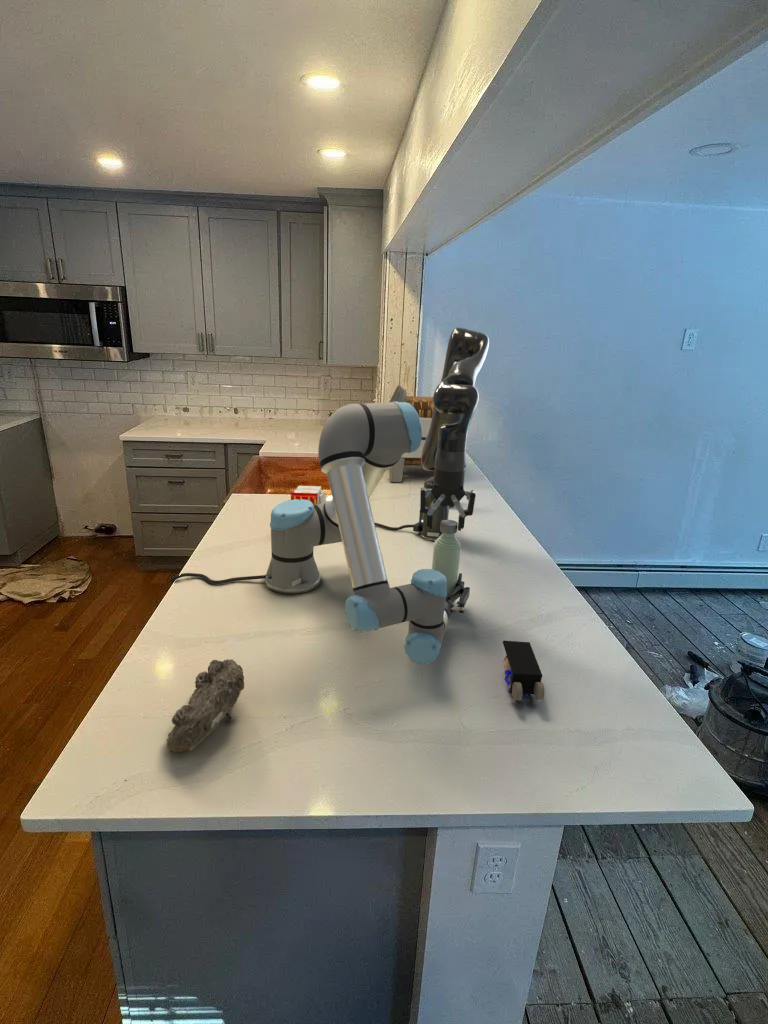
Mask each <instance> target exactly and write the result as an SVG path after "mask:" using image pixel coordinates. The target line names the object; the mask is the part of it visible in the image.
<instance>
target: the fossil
mask: <svg viewBox="0 0 768 1024" xmlns="http://www.w3.org/2000/svg"><path fill="white" fill-rule="evenodd" d="M243 670H244V669H243V667H242V665H240V664H237V662H236V661H235V660H234V659H232V658H231V659H227V658H226V659H224V660H223V661H222V660H217V659H212V660H211V661H210V663H209V665H208V666H207V671H201V672H199V673H198V674H197V675H196V676H195V680H194V684H195V685H194V687H195V689H194V690H193V693H192V694H191V697H190V698H189V700H188V704H184V705H182V706H181V707H180V709H177V710H176V711H175V713H174V715H173V716H172V718H171V723H172V724H173V727H172V730H171V731H170V732H168V734H167V738H166V741H167V742H166V745H167V749H168V750H169V751H173V752H174V753H176V754H178V753H182V752H188V751H189V752H192V751H193V750H195V748H196V747H197V746H199V744H200V743H201V742H203V741H204V740H205V739H206V738H207V737H208V736H209V735H210V734H211V733H212V732H214V730H215V729H217V727H218V726H219V724H220V722H221V721H222V720H223V719H224V718H225V716H226V717H227V719H229V720H233V717H232V715H230V714H229V710H230V709H231V708H234V706H235V704H236V703H237V702H238V699H239V697H240V695H241V693H242V691H243V690H245V689H244V688H245V675H244V671H243Z"/></svg>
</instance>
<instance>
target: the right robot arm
mask: <svg viewBox="0 0 768 1024" xmlns="http://www.w3.org/2000/svg"><path fill="white" fill-rule="evenodd" d="M489 346H490V339H489V336H488V335H487V334H486V333H483V332H481V331H477V330H472V329H468V328H465V327H464V328H463V327H455V328H454V329H452V331H451V333H450V335H449V338H448V342H447V348H446V352H445V359H444V364H443V370H442V375H441V380H440V383H438V385H437V386H436V388H435V390H434V392H433V396H432V397H433V404H434V410H433V415H432V420H431V424H430V428H429V431H428V434H427V437H426V440H425V443H424V446H423V449H422V454H421V465H422V466H421V467H422V469H423V470H424V471H428V472H429V471H430V472H433V476H431V477H429V478H427V479H425V480H424V482H423V487H421V488H420V496H419V497H420V500H419V501H420V502H419V503H420V504H419V505H420V506H419V507H420V508H419V516H418V522H415V523H414V524H403V525H400V526H398V527H397V526H396V527H395V526H393V527H392V526H388V525H385V524H382V523H378V522H375V521H374V524H375V527H379V528H383V529H386V530H389V531H400V530H404V529H407V528H408V529H409V528H412V531H413V532H415V533H417V535H418V536H420V538H421V539H424V540H426V541H432V542H435V541H436V540H437V538H439V536H441V534H442V532H441V531H440V527H441V521H442V520H449V517H450V516H449V514H450V507H451V508H453V507H454V506H455V508H456V510H457V513H458V521H457V523H458V526H457V532H461V531H462V530H464V528H465V521H466V517H468V516H469V517H470V516H473V514H474V509H475V502H476V496H477V495H476V492H475V490H473V489H472V490H465V488H464V486H465V476H466V468H467V444H468V435H469V429H470V425H471V422H472V419H473V417H474V415H475V412H476V409H477V406H478V404H479V400H480V395H479V391H478V388H476V386H475V383H476V379H477V376H478V374H479V372H480V371H481V369H482V367H483V364H484V362H485V361H486V357H487V354H488V351H489ZM464 497H466V500H468V502H467V509H464V507H463V505H462V503H461V500H462V499H463V498H464ZM449 506H450V507H449Z"/></svg>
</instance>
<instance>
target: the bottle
mask: <svg viewBox="0 0 768 1024" xmlns="http://www.w3.org/2000/svg"><path fill="white" fill-rule="evenodd" d="M461 547H462V546H461V543H460V541H459V539H458V538H457V537H456V534H445V533H442V534H441V536H439V538H437V540H436V541H434V543H433V550H432V561H431V562H432V564H431V569H432V570H436V571H439V572H441V574H443V575H444V576H445V577H446V580H447V593H450V592H451V591H452V590H453V589H455V588H456V583H457V580H458V576H459V567H460V557H461ZM453 604H454V605H455V604H456V600H455V601H454V602H453Z"/></svg>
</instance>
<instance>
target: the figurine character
mask: <svg viewBox="0 0 768 1024" xmlns="http://www.w3.org/2000/svg"><path fill="white" fill-rule="evenodd" d="M502 645H503V650H504V652H505V654H506V655H505V656H504V658H503V661H502V665H503V669H504V673H505V676H504V681H505V683H506V684H507V687H508V692H509V694H511V695H512V699H513V701H515V702H516V704H517V705H520V704H521V702H520V701H522V699H523V696H526V695H527V698H528V701H529V704H530V705H531V706H533V705H534V703H535V702H534V699H535V701H544V699H545V697H546V694H545V693H546V690H545V685H544V683H543V682H542V680H543V679H542V678H543V672H542V670H541V668H540V665H539V663H538V661H537V658H536V654H535V652H534V649H533V647H532V644H531V642H530V641H519V640H504V639H503V640H502ZM509 677H510V680H509ZM533 697H534V699H533Z"/></svg>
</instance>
